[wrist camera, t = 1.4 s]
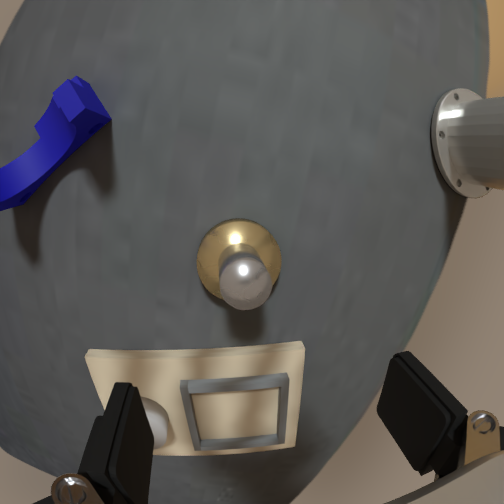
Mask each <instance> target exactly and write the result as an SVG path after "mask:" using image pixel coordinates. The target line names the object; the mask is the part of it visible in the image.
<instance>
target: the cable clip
mask: <svg viewBox="0 0 504 504" xmlns="http://www.w3.org/2000/svg"><path fill="white" fill-rule="evenodd" d="M53 95H54V96H53V97H52V100H51V103H50V105H49V107H48V109H47V110H46V112H45V113H44V115H43V116H42V117H41V119H40V120H39V121H38V122H37V123H36V125H35V126H34V127H35V128H36V130H37V132H38V134H39V136H40V139H39V140H38V141H37V142H36V143H35V144H34V145H33V146H32V147H31V148H29V149H28V150H27V151H26V152H25V153H23V154H22V155H21V156H19V157H18V158H17V159H15V160H14V161H12V162H11V163H9V164H7V165H6V166H4V167H2V168H0V211H2V210H6V209H9V208H12V207H16V206H19V205H23V204H24V203H25V202H26V201H27V200H28V198H29V197H30V196H31V195H32V194H33V193H34V192H35V191H36V190H37V188H38V187H39V186H40V185H41V184H42V183H43V182H44V181H45V180H46V179H47V178H48V177H49V176H50V175H51V174H52V173H53V172H54V171H55V170H56V169H57V168H58V167H59V166H60V165H61V164H62V163H63V162H64V161H65V160H66V159H67V158H68V157H69V156H70V155H71V154H72V153H73V152H74V151H75V150H77V149H78V148H79V147H80V146H81V145H82V144H83V143H84V142H85V141H87V140H88V139H89V138H90V137H91V136H92V135H93V134H95V133H96V132H97V131H98V130H99V129H100V128H102V127H103V126H104V125H105V124H107V123H108V122H109V121H110V120H111V117H110V116H109V114H108V113H107V111H106V110H105V108H104V106H103V105H102V103H101V102H100V100H99V99H98V97H97V96H96V94H95V92H94V91H93V89H92V88H91V86H90V84H89V83H87V82H86V81H84V80H83V79H81V78H79V77H78V76H75V77H74V78H73V79H72V80H69V79H67V80H66V81H65V82H64V83H63V84H62V85H61V86H60V87H58V88H57V89H56V90H55V91H54V92H53Z"/></svg>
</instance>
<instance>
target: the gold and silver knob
mask: <svg viewBox="0 0 504 504" xmlns="http://www.w3.org/2000/svg"><path fill="white" fill-rule="evenodd" d="M280 269H281V253H280V249H279V246H278V244H277V242H276V240H275V239H274V238H273V236H272V235H271V234H270V233H269V232H268V231H267V230H266V229H265V228H264V227H263V226H262V225H260V224H258V223H256V222H254V221H251V220H248V219H238V218H236V219H230V220H226V221H223V222H221V223H219V224H217V225H215V226H214V227H213V228H211V229H210V230H209V231H208V232H207V234H206V235H205V236H204V238H203V239H202V241H201V243H200V246H199V250H198V255H197V270H198V274H199V277H200V279H201V281H202V283H203V285H204V286H205V287H206V289H207V290H208V291H209V292H211V293H212V294H213V295H215V296H216V297H218V298H220V299H222V300H225V302H226V303H227V304H229V305H230V306H232V307H233V308H236V309H240V310H250V309H254V308H257V307H259V306H260V305H262V304H263V303H264V302H265V301H266V300H267V299H268V297H269V295H270V293H271V290H272V286H273V284H274V283H275V282H276V280H277V278H278V275H279V273H280Z"/></svg>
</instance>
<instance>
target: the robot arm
mask: <svg viewBox="0 0 504 504" xmlns="http://www.w3.org/2000/svg"><path fill="white" fill-rule="evenodd" d="M431 138H432V146H433V151H434V155H435V159H436V162H437V165H438V168H439V170H440V172H441V174H442V176H443V178H444V180H445V181H446V182H447V184H448V185H449V186H450V187H451V188H452V189H453V190H454V191H455V192H456V193H458V194H460V195H461V196H465V197H469V198H480V197H483V196H484V195H486V194H487V193H488V192H489V191H490V190H491V189H492V188H496V189H502V190H504V97H498V98H488V99H482V98H481V97H480V96H479V95H478V94H476V93H474V92H473V91H471V90H468V89H464V88H461V89H454V90H450V91H448V92H446V93H445V94H444V95H443V96H442V97H441V98H440V99H439V101H438V103H437V105H436V106H435V110H434V113H433V117H432V125H431ZM467 412H468V411H467V409H466V408H465V407H464V406H463V405H462V404H461V403H460V402H459V401H458V400H457V399H456V398H455V397H454V396H453V395H452V394H451V393H450V392H449V391H448V390H447V389H446V388H445V387H444V386H443V385H442V383H441V382H439V380H437V378H436V377H435V376H434V375H433V374H432V373H431V372H430V371H429V370H428V369H427V368H426V367H425V366H424V365H423V364H422V363H421V362H420V361H419V360H418V359H417V358H416V357H415V356H414V355H413V354H412V353H411V352H409V351H405V352H401V353H397V354H395V355H394V356H393V358H392V359H391V360H390V363H389V366H388V370H387V374H386V378H385V381H384V385H383V388H382V392H381V395H380V399H379V402H378V405H377V413H378V415H379V417H380V418H381V420H382V421H383V423H384V425H385V426H386V428H387V429H388V431H389V432H390V434H391V435H392V437H393V438H394V439H395V441H396V443H397V444H398V446H399V447H400V449H401V451H402V452H403V454H404V455H405V457H406V458H407V460H408V461H409V463H410V464H411V466H412V467H413V469H414V470H416V471H419V473H420V475H421V476H422V475H424V474H426V473H428V472H430V471H432V470H434V471H435V473H436V474H435V479H434V482H432V483H430V484H428V485H426V486H424V487H422V488H420V489H418V490H416V491H414V492H411V493H409V494H407V495H404V496H402V497H400V498H397V499H395V500H392V501H390V502H387V503H384V504H504V427H501V426H499V423H498V420H497V418H496V417H495V416H494V415H493V414H492V413H489V412H487V411H476V412H473V413H472V414H470V416H469V417H468V416H467ZM153 449H154V435H153V432H152V429H151V427H150V424H149V421H148V418H147V415H146V412H145V409H144V406H143V403H142V400H141V397H140V393H139V390H138V388H137V387H133V385H132V383H130V382H115V384H114V386H113V389H112V392H111V394H110V397H109V400H108V403H107V406H106V409H105V412H104V415H103V416H97V417H96V419H95V421H94V424H93V427H92V430H91V433H90V436H89V439H88V442H87V445H86V448H85V451H84V454H83V457H82V460H81V464H80V467H79V470H78V473H77V474H75V473H68V474H64V475H61V476H59V477H58V478H57V479H56V480H55V481H54V482H53V484H52V486H51V496H48V497H46V498H44V499H42V500H40V501H38V502H35V503H33V504H148V495H149V485H150V475H151V466H152V458H153Z"/></svg>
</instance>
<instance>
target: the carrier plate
mask: <svg viewBox="0 0 504 504" xmlns="http://www.w3.org/2000/svg"><path fill="white" fill-rule="evenodd" d="M304 357H305V347H304V345H303V343H302V341H295V342H286V343H276V344H266V345H254V346H242V347H227V348H210V349H187V350H100V349H89V350H88V352H87V354H86V355H85V359H86V362H87V365H88V368H89V371H90V374H91V376H92V379H93V382H94V385H95V387H96V390H97V392H98V395H99V397H100V400H101V402H102V405H103V407H104V409H106V406H107V403H108V400H109V397H110V394H111V392H112V389H113V386H114V384H115V382H130V383H132V385H133V387H137V388H138V390H139V393H140V397H141V400H142V403H143V406H144V409H145V412H146V415H147V418H148V421H149V424H150V427H151V429H152V432H153V435H154V449H153V455H177V456H195V455H224V454H238V453H250V452H259V451H268V450H276V449H283V448H289V447H295V442H296V434H297V426H298V417H299V409H300V399H301V390H302V379H303V368H304Z"/></svg>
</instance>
